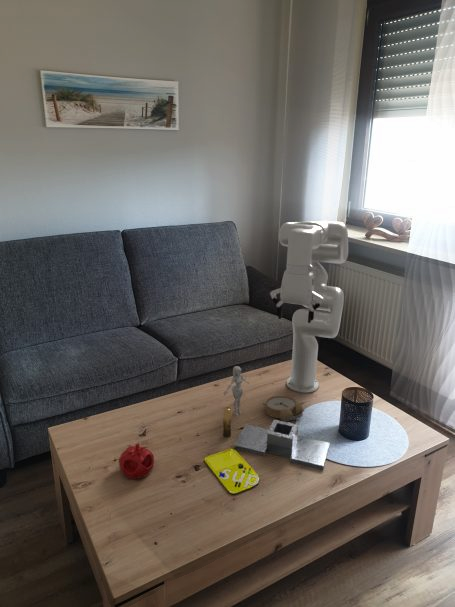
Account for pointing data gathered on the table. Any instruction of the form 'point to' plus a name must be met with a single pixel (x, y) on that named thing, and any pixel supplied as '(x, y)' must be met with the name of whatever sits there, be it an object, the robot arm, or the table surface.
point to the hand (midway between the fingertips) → (295, 319)
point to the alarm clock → (283, 408)
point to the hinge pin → (226, 422)
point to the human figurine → (236, 387)
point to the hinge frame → (283, 444)
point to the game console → (232, 471)
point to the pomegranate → (136, 461)
